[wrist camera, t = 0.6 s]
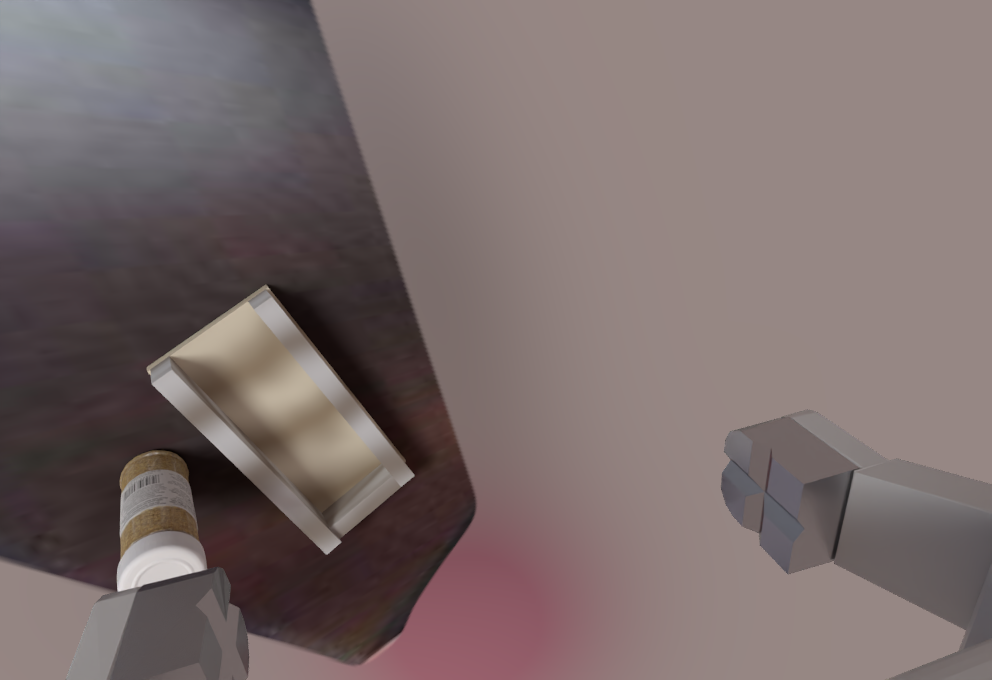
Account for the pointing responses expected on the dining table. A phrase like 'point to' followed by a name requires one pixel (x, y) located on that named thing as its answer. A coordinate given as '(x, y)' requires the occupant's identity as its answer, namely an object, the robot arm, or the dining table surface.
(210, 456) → the dining table surface
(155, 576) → the sprinkles bottle
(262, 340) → the track
